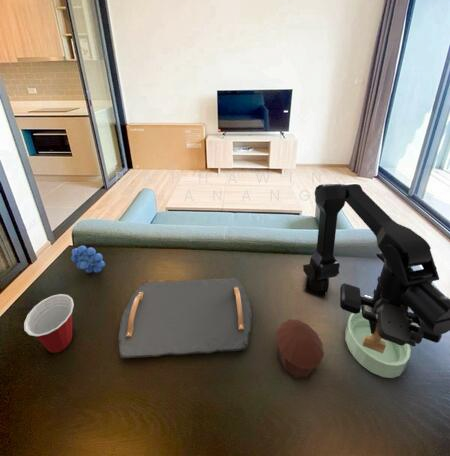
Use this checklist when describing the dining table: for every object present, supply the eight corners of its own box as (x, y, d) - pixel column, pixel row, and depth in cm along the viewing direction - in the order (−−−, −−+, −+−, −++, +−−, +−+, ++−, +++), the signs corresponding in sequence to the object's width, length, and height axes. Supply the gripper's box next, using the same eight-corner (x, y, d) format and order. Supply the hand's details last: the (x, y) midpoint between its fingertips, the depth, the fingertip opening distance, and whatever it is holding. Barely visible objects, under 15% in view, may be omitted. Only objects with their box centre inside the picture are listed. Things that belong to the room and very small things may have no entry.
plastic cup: (32, 373, 61) (18, 342, 57) (39, 333, 70) (28, 304, 66) (82, 351, 66) (72, 321, 61) (83, 317, 75) (74, 288, 70)
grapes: (68, 281, 87) (60, 254, 82) (79, 266, 93) (72, 241, 89) (100, 282, 86) (94, 255, 82) (109, 267, 93) (104, 241, 88)
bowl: (345, 363, 63) (349, 349, 61) (344, 315, 76) (347, 302, 74) (410, 390, 58) (417, 376, 56) (398, 333, 70) (403, 320, 68)
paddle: (362, 347, 60) (372, 317, 56) (362, 340, 62) (371, 309, 58) (383, 356, 59) (395, 325, 55) (382, 347, 60) (393, 317, 56)
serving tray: (245, 283, 86) (246, 269, 84) (257, 356, 65) (259, 340, 63) (134, 288, 84) (131, 275, 82) (108, 366, 62) (104, 351, 60)
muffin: (265, 352, 66) (267, 327, 62) (291, 327, 72) (295, 303, 68) (302, 397, 57) (308, 371, 53) (328, 364, 63) (335, 338, 60)
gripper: (347, 301, 49) (334, 350, 55) (465, 341, 42) (436, 393, 48) (346, 262, 59) (335, 308, 65) (442, 290, 52) (420, 338, 58)
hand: (377, 334), depth 58 cm, fingers closed on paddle, 2 cm apart
